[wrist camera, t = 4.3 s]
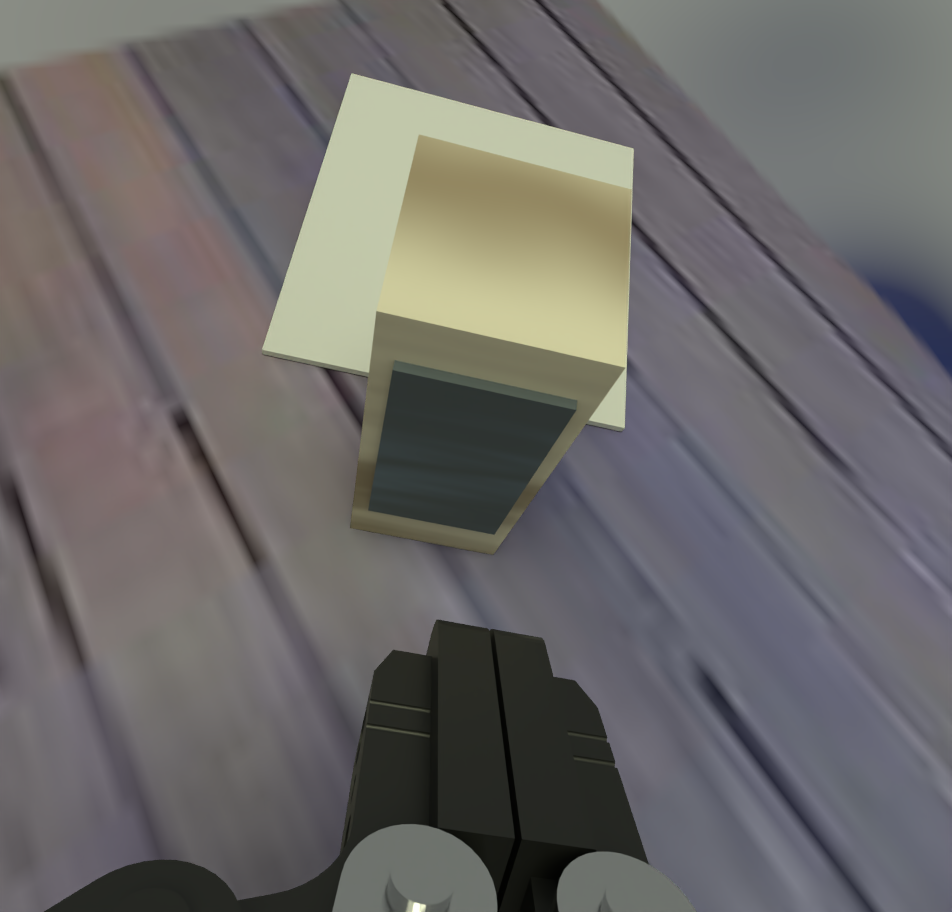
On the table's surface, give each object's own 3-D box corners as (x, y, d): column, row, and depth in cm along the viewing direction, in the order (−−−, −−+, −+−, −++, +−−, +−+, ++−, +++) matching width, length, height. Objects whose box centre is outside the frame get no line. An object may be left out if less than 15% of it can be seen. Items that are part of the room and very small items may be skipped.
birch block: (492, 561, 24) (625, 378, 14) (348, 534, 24) (373, 321, 13) (508, 430, 27) (631, 189, 16) (377, 403, 26) (418, 134, 16)
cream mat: (621, 431, 28) (624, 428, 28) (262, 354, 26) (262, 349, 26) (631, 153, 35) (633, 148, 35) (351, 78, 34) (351, 73, 33)
